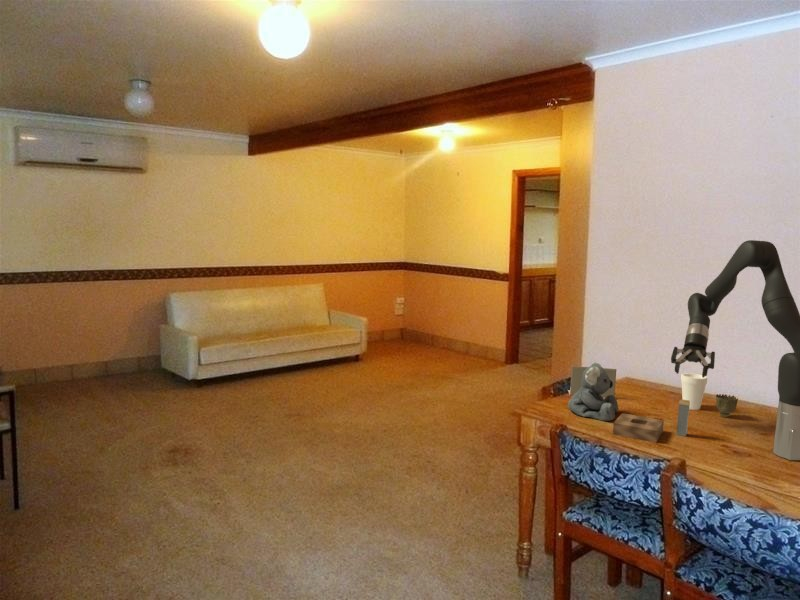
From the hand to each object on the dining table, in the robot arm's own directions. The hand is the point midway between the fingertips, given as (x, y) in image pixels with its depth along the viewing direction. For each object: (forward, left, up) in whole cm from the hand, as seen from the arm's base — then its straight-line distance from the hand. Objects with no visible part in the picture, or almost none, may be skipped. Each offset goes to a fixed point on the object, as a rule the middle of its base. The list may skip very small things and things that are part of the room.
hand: (690, 374), depth 221 cm
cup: (+14, -21, -19) cm, 32 cm away
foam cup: (+25, -13, -19) cm, 34 cm away
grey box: (+41, +23, -20) cm, 51 cm away
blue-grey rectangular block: (-10, +6, -19) cm, 22 cm away
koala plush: (+11, +31, -19) cm, 38 cm away
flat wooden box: (-10, +21, -19) cm, 30 cm away
